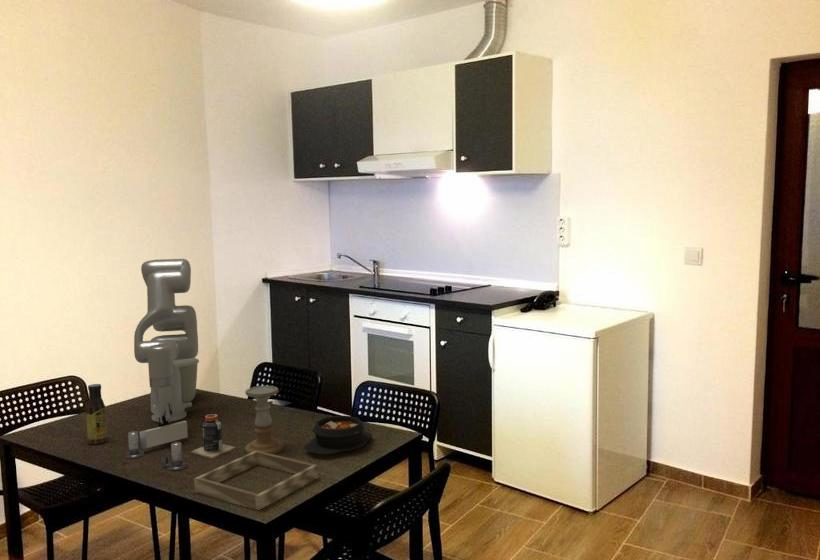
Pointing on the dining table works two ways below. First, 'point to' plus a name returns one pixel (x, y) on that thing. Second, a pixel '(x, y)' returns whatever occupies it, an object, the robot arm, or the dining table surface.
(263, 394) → the candle holder
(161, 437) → the gate
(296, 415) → the dining table surface
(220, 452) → the coaster
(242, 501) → the square wooden frame
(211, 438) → the pill bottle
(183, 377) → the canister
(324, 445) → the casserole
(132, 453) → the gate posts
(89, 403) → the sauce bottle
